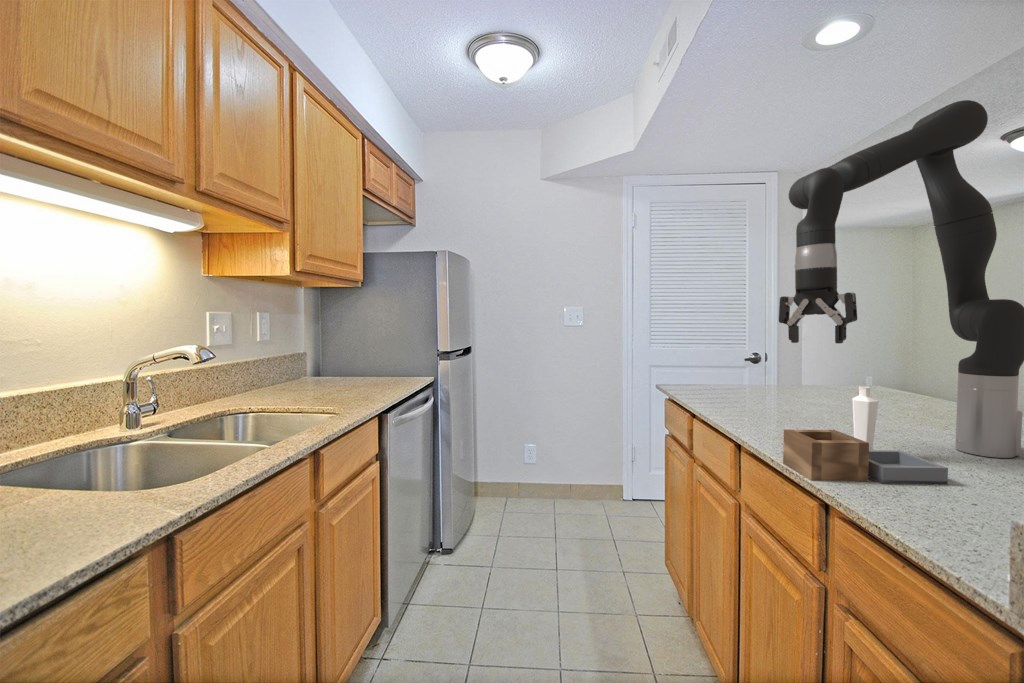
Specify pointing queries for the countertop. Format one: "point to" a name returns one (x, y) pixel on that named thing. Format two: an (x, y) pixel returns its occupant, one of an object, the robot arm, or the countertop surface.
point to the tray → (904, 468)
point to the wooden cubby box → (826, 455)
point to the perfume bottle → (864, 415)
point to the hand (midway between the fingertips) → (816, 342)
